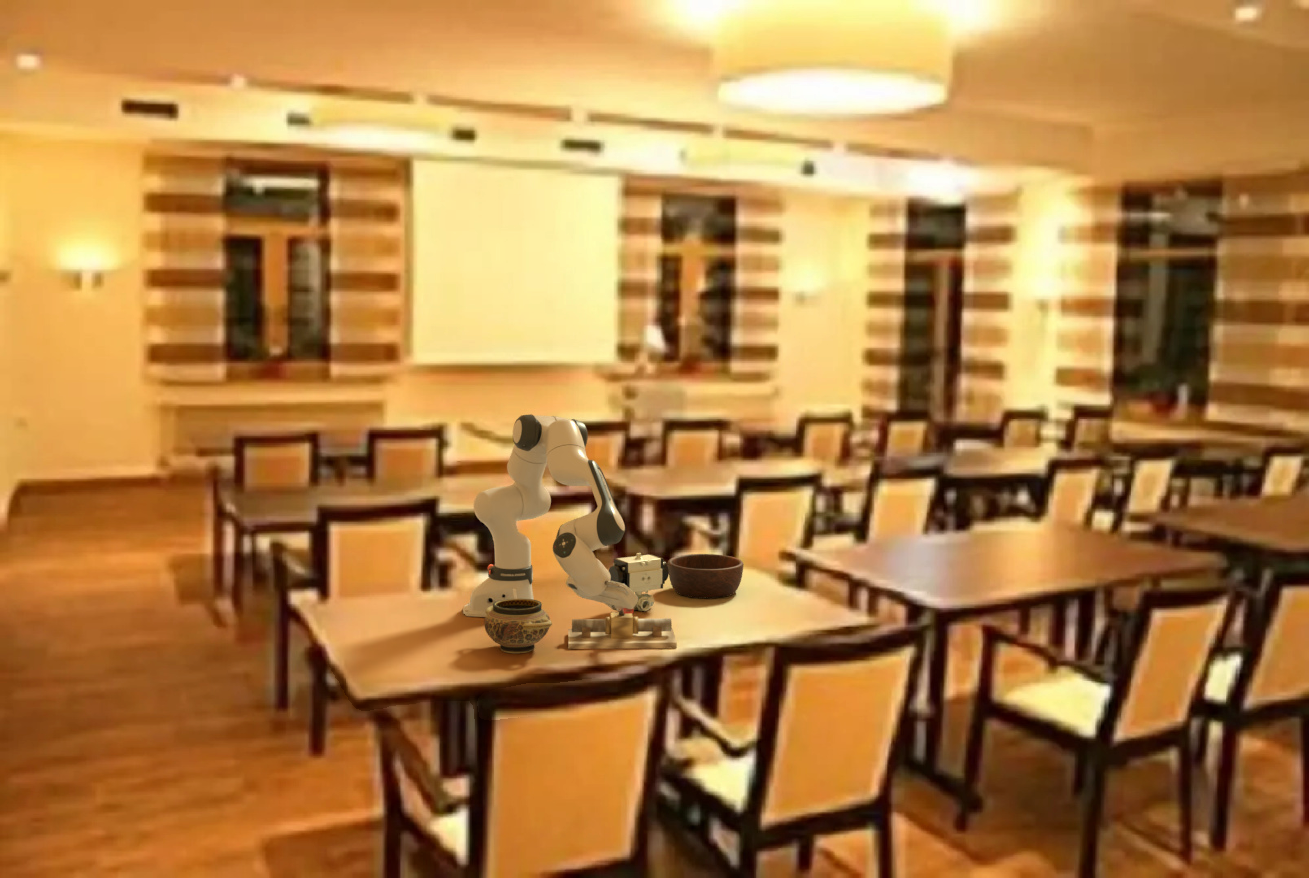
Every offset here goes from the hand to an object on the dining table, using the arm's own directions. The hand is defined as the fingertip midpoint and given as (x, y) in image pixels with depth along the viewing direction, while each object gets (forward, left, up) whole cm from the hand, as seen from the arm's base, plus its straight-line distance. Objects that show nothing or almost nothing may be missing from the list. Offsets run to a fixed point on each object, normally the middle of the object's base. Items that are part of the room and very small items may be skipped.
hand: (618, 608), depth 344 cm
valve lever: (+2, +5, -1) cm, 6 cm away
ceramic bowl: (-28, +4, -12) cm, 30 cm away
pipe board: (+1, +11, -12) cm, 17 cm away
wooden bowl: (+31, +69, -13) cm, 77 cm away
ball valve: (+8, +46, -12) cm, 49 cm away
